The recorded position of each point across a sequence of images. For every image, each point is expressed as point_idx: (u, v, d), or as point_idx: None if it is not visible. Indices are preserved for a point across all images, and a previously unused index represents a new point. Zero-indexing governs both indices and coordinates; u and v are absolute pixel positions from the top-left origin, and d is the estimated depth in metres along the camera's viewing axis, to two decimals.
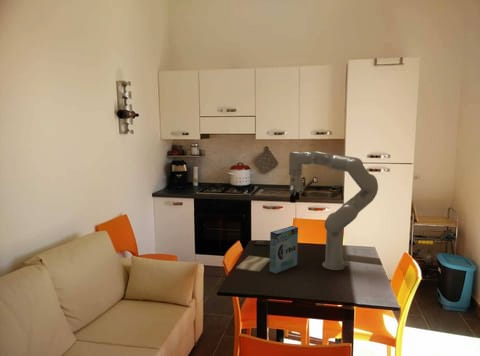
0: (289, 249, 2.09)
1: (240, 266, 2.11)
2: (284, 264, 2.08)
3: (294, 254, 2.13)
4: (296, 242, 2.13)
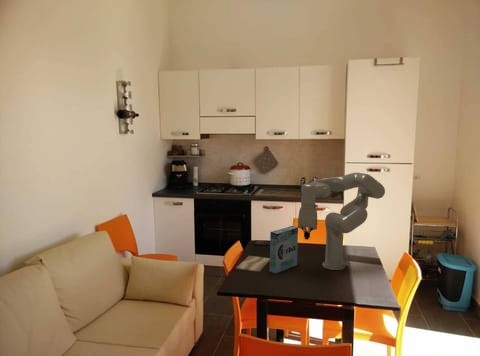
0: (289, 249, 2.09)
1: (240, 266, 2.11)
2: (284, 264, 2.08)
3: (294, 254, 2.13)
4: (296, 242, 2.13)
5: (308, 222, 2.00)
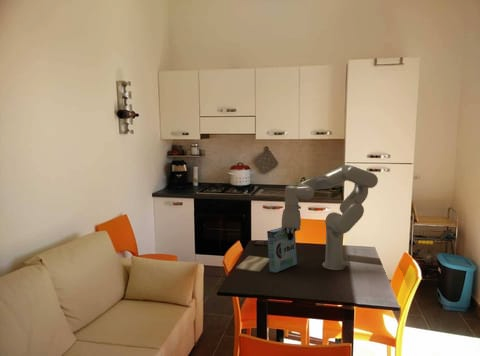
0: (288, 247, 2.10)
1: (240, 266, 2.11)
2: (284, 263, 2.08)
3: (292, 253, 2.13)
4: (294, 240, 2.14)
5: (291, 223, 2.04)
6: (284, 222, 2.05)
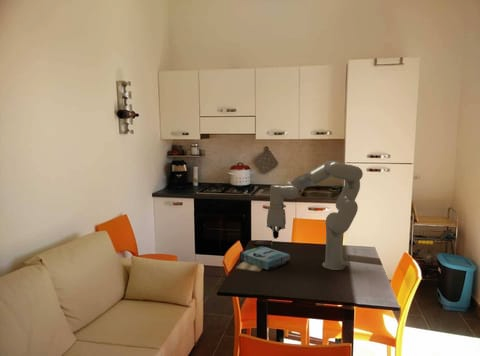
0: (267, 252, 2.22)
1: (240, 266, 2.11)
2: (272, 257, 2.13)
3: (276, 252, 2.22)
4: (270, 249, 2.28)
5: (276, 222, 2.07)
6: (269, 221, 2.09)
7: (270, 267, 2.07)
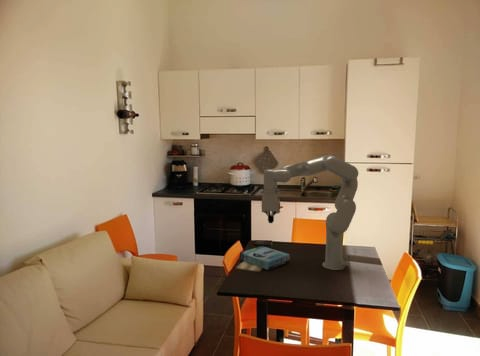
0: (267, 252, 2.22)
1: (240, 266, 2.11)
2: (272, 257, 2.13)
3: (276, 252, 2.22)
4: (270, 249, 2.28)
5: (271, 206, 2.07)
6: (264, 205, 2.09)
7: (270, 267, 2.07)
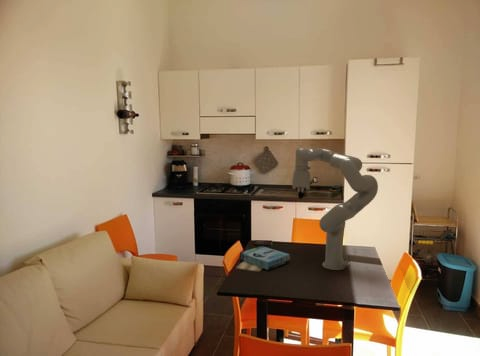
0: (267, 252, 2.22)
1: (240, 266, 2.11)
2: (272, 257, 2.13)
3: (276, 252, 2.22)
4: (270, 249, 2.28)
5: (302, 182, 2.21)
6: (295, 182, 2.23)
7: (270, 267, 2.07)
